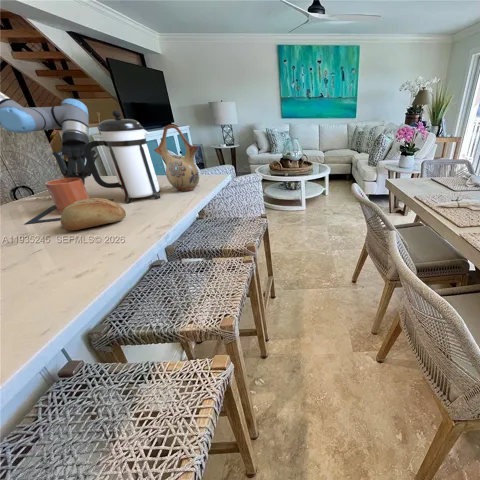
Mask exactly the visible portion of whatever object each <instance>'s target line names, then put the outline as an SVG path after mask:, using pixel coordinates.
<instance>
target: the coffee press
mask: <svg viewBox="0 0 480 480" xmlns="http://www.w3.org/2000/svg"><path fill="white" fill-rule="evenodd" d="M112 116H113V117H114V118H110V119H103V120H102V121H100V122H99V123H98V128H97V131H98V132H99V133H100V135H101V137H102V140H91V141H89V143H88V144H87V145H86V146H85V149H84V154H85V162H86V161H87V163H88V166H89V168H90V171H91V173H92V174H91V176H92V177H93V180H94V181H95V182H96V184H98V185H99V186H101V187H103V188H106V189H116V188H118V189H120V190H121V192H122V194H123V196H124V200H123V201H124V203H126V204H131V203H132V201H133V199H138V198H146V197H150V196H151V197H153V198H154V199H155V200H159V199H161V195H160V194H159V193H160V192H161V189H160V185H159V181H158V178H157V175H156V171H155V168H154V164H153V161H152V158H151V154H150V151H149V147H148V142H147V138H146V137H145V136H150V132H149V131H147V130H146V129H144V126H143V125H142V124H141V123H140V122H139V121H138V120H136V119H133V118H122V117H121V116H122V113H121V112H120V111H119V110H116V109H115V110H113V111H112ZM101 146H102V147H103V146H104V147H105V148H106V151H107V154H108V157H109V159H110V162H111V165H112V168H113V171H114V173H115V176H116V179H117V181H118V182H106V181H104V180H103V179H102V177H101V176H100V173H99V171H98V168H97V166H96V162H95V163H94V160H93V158H92V155H91V150H93V148H96V147H101Z"/></svg>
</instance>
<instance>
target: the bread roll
mask: <svg viewBox="0 0 480 480" xmlns="http://www.w3.org/2000/svg"><path fill="white" fill-rule="evenodd" d="M89 198H90V197H89ZM126 216H127V213H126V210H125V209H124V208H123V206H121V205H120V204H119V203H116V202H114V201H110V200H108V199H107V198H101V197H93V198H92V197H91V198H90V199H83V200H79V201H76V202H74V203H72V204H70V205H69V206H67V207H66V208H65V209H64V210H63V212H62V214H61V216H60V218H61V219H60V220H59V221H60V225H61V226H62V227H63V229H65V230H67V231H78V230H79V231H80V230H83V229H88V228H93V227H96V226H101V225H107V224H112V223H117V222H119V221H122V220H123V219H125V218H126Z"/></svg>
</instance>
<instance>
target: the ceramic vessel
mask: <svg viewBox="0 0 480 480" xmlns="http://www.w3.org/2000/svg"><path fill="white" fill-rule="evenodd" d="M169 129H174V130H176V131H177V133H178V135H179V136H180V138H181V140H182V142H183V144H184V149H185V155H184V156H183V157H182V158H176V157H174V156H172V155H171V154H170V152H169V151H168V146H167V135H168V134H167V133H168V130H169ZM199 150H200V148H199V147H198V146H196V145H192V144H190V143H189V142H188V140H187V138H186V137H185V135H184V134H183V132H182V130H181V129H180V128H179V127H178V126H177V125H174V124H168V125H165V126H164V128H163V132H162V136H161V140H160V143H159V145H158V147H157V148H154V149H153V151H154V152H155V153H157V154H158V155H159V156H160V157H161V158H162V159H163V160H164V162H165V176H166V178H167V181H168V182H169V184H170V185H171V186H172V187H173V188H174V189H176V190H178V191H180V192H189V191H193V190H195V189H196V187H198V185H199V182H200V173H199V170H198V169H199V168H198V167H197V166H196V164H195V156H196V154H197V153H198V151H199Z"/></svg>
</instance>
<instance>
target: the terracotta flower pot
mask: <svg viewBox="0 0 480 480" xmlns="http://www.w3.org/2000/svg"><path fill="white" fill-rule="evenodd" d="M44 185H45V187H46V189H47V191H48V193H49V195H50V197H51V200H52V201H53V203H54V205H56V207H57V208H56V210H57V211H58V213H59V214H60V215H62V212H63V210H64V209H65V208H66V207H67V206H69V205H70V204H72V203H74V202H76V201H79V200H83V199H90V196H89V194H88V191H87V189H86V186H85V184H83V182H82V179H81V178H66V177H65V178H64V177H63V178H57V179H52V180H48V181H46V182H45V183H44Z"/></svg>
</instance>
